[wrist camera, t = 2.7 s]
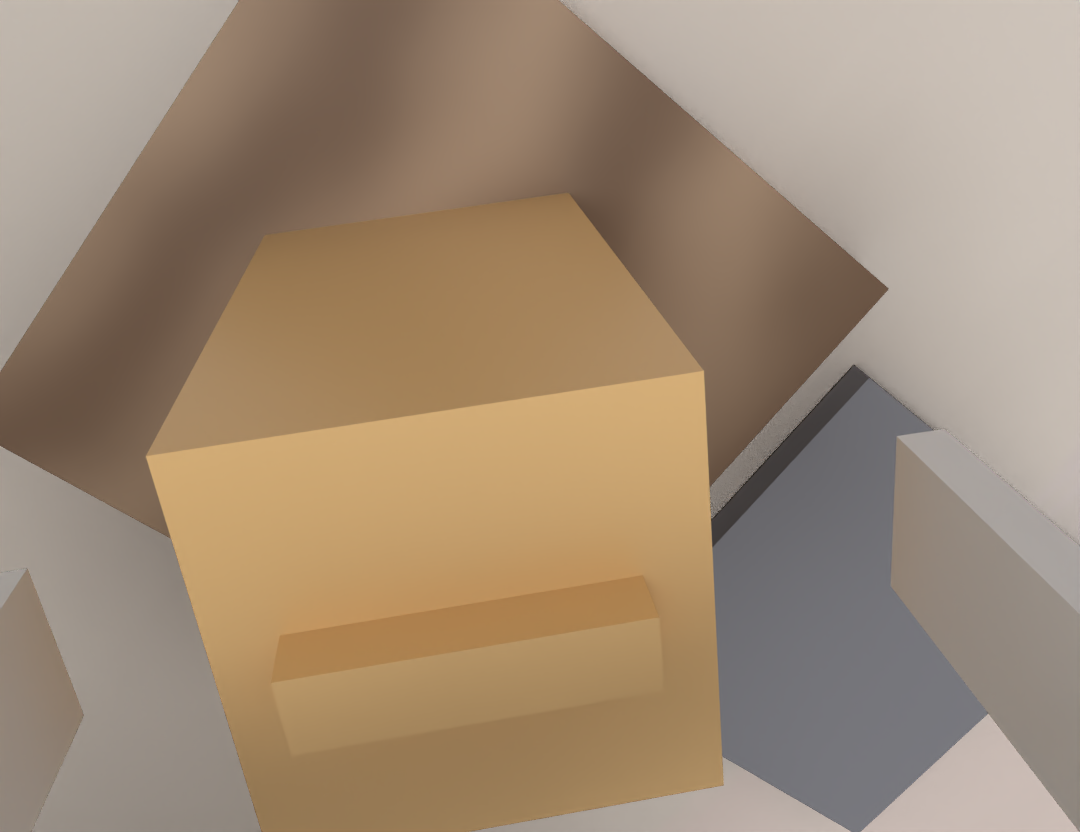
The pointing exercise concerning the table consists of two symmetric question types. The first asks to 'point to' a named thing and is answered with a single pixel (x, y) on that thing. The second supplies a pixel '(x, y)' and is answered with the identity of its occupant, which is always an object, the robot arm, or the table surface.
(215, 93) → the wooden base with post
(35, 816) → the robot arm
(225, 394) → the tan tall block
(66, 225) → the table surface
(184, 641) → the table surface
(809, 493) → the pad
